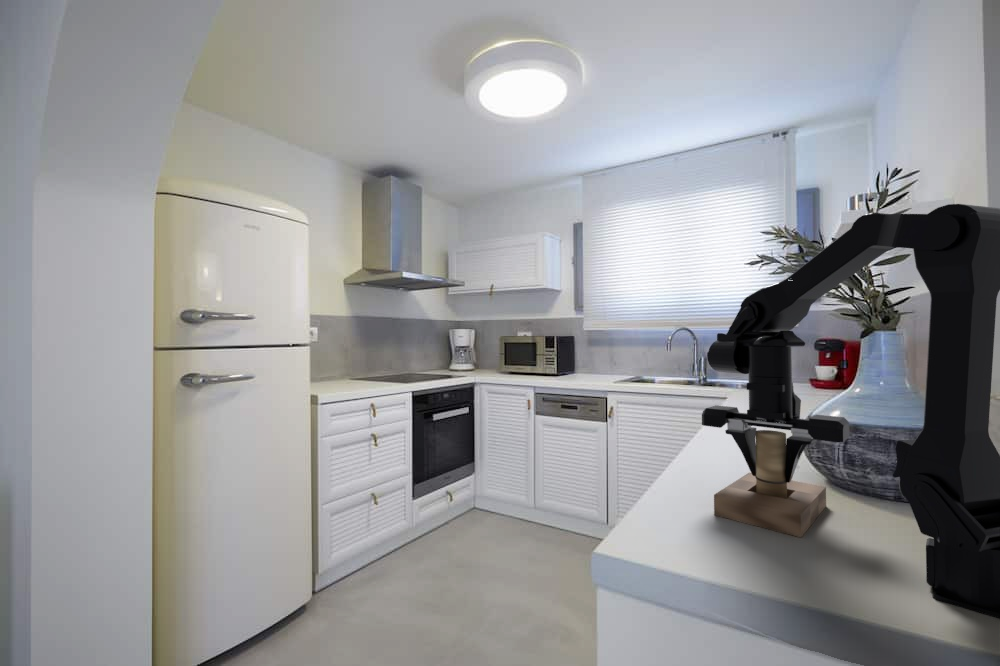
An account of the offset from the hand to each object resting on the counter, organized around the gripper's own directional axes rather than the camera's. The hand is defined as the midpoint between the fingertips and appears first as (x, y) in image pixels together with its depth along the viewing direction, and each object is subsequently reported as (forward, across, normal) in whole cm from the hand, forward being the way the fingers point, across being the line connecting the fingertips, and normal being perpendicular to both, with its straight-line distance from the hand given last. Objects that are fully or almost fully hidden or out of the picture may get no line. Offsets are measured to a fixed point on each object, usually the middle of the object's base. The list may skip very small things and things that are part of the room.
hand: (771, 478), depth 69 cm
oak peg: (+3, 0, 0) cm, 3 cm away
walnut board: (+5, 0, 0) cm, 5 cm away
